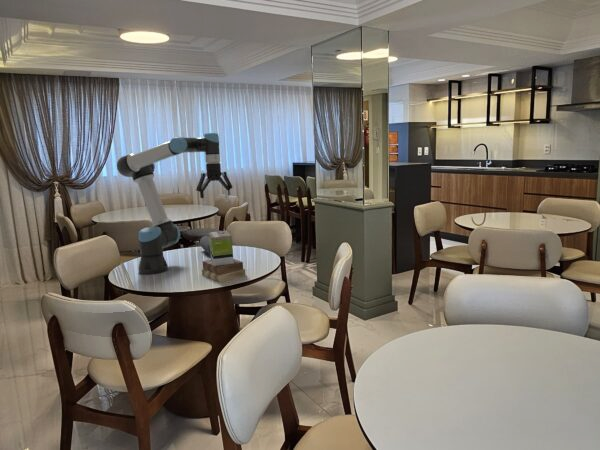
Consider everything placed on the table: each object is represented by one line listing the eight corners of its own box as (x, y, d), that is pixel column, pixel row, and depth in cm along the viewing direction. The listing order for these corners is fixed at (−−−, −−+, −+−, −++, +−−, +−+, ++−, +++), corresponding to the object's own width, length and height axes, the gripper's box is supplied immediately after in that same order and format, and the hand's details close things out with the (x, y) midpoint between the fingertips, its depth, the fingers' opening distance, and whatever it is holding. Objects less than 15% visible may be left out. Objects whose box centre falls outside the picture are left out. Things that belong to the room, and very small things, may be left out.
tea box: (210, 259, 227) (208, 231, 224) (229, 257, 230) (227, 229, 227) (213, 266, 213) (211, 236, 210) (234, 264, 216) (232, 234, 213)
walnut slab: (203, 268, 224) (202, 261, 224) (227, 263, 233) (226, 256, 232) (218, 275, 211) (217, 267, 211) (243, 269, 220) (242, 262, 219)
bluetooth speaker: (223, 256, 264) (222, 240, 262) (208, 258, 260) (206, 241, 259) (213, 249, 284) (212, 234, 283) (199, 250, 281) (198, 235, 279)
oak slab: (202, 276, 225) (201, 268, 224) (227, 270, 234) (226, 263, 234) (219, 283, 211) (219, 275, 211) (245, 276, 221) (245, 269, 220)
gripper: (194, 164, 218) (197, 205, 221) (237, 162, 233) (239, 201, 237) (188, 164, 223) (190, 204, 227) (230, 162, 239) (232, 200, 242)
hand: (215, 203), depth 232 cm, fingers open, 13 cm apart
